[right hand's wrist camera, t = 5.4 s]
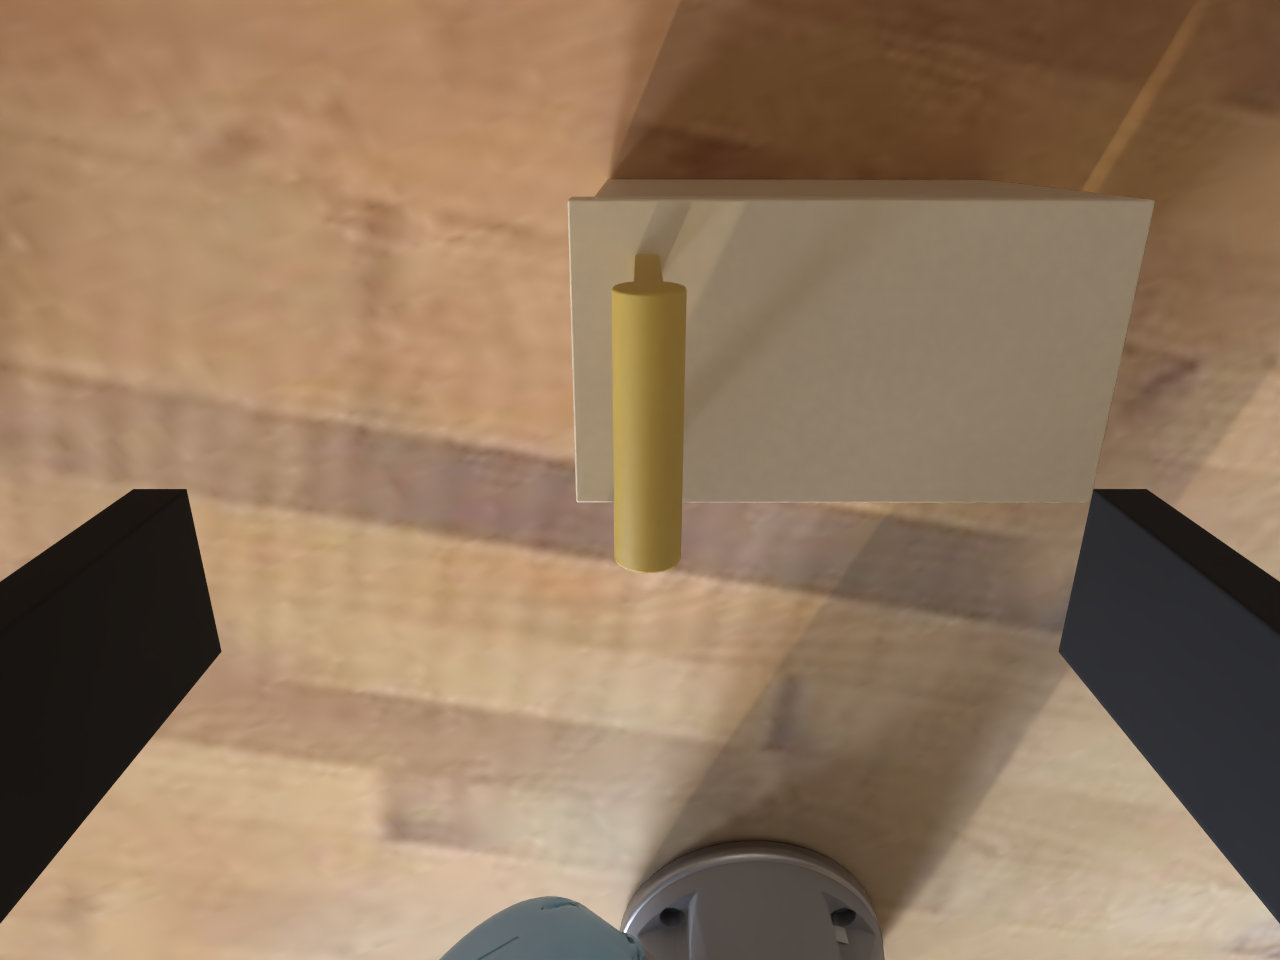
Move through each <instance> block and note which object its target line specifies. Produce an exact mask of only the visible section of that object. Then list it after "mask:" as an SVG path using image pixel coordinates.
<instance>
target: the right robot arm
mask: <svg viewBox="0 0 1280 960" xmlns="http://www.w3.org/2000/svg"><path fill="white" fill-rule="evenodd" d="M220 653H221V648H220V643H219V638H218V634H217V629H216V624H215V620H214V615H213V610H212V606H211V601H210V596H209V592H208V587H207V582H206V578H205V573H204V569H203V564H202V559H201V555H200V550H199V545H198V541H197V536H196V531H195V527H194V522H193V517H192V513H191V508H190V503H189V499H188V494H187V489H133V490H132V491H130V492H129V493H127V494H126V495H124V496H123V497H122V498H120V499H119V500H117V501H116V502H114V503H113V504H112V505H110V506H109V507H107V508H106V509H104V510H103V511H101V512H100V513H99V514H97V515H96V516H94V517H93V518H91V519H90V520H88V521H87V522H86V523H84V524H83V525H81V526H80V527H78V528H77V529H76V530H74V531H73V532H71V533H70V534H68V535H67V536H65V537H64V538H63V539H61V540H60V541H58V542H57V543H55V544H54V545H53V546H51V547H50V548H48V549H47V550H45V551H44V552H42V553H41V554H40V555H38V556H37V557H35V558H34V559H32V560H31V561H30V562H28V563H27V564H25V565H24V566H22V567H21V568H19V569H18V570H17V571H15V572H14V573H12V574H11V575H9V576H8V577H7V578H5V579H4V580H2V581H1V582H0V923H1V922H2V921H3V920H4V918H5V917H6V916H7V915H8V913H9V912H10V911H11V910H12V908H13V907H14V906H15V905H16V904H17V902H18V901H19V900H20V899H21V897H22V896H23V895H24V894H25V892H26V891H27V890H28V889H29V888H30V886H31V885H32V884H33V883H34V881H35V880H36V879H37V878H38V876H39V875H40V874H41V873H42V872H43V870H44V869H45V868H46V867H47V865H48V864H49V863H50V862H51V860H52V859H53V858H54V857H55V856H56V854H57V853H58V852H59V851H60V849H61V848H62V847H63V846H64V845H65V843H66V842H67V841H68V840H69V838H70V837H71V836H72V835H73V833H74V832H75V831H76V830H77V829H78V827H79V826H80V825H81V824H82V822H83V821H84V820H85V819H86V817H87V816H88V815H89V814H90V813H91V811H92V810H93V809H94V808H95V806H96V805H97V804H98V803H99V801H100V800H101V799H102V798H103V797H104V795H105V794H106V793H107V792H108V790H109V789H110V788H111V787H112V786H113V784H114V783H115V782H116V781H117V779H118V778H119V777H120V776H121V774H122V773H123V772H124V771H125V770H126V768H127V767H128V766H129V765H130V763H131V762H132V761H133V760H134V758H135V757H136V756H137V755H138V754H139V752H140V751H141V750H142V749H143V747H144V746H145V745H146V744H147V742H148V741H149V740H150V739H151V738H152V736H153V735H154V734H155V733H156V731H157V730H158V729H159V728H160V726H161V725H162V724H163V723H164V722H165V720H166V719H167V718H168V717H169V715H170V714H171V713H172V712H173V711H174V709H175V708H176V707H177V706H178V704H179V703H180V702H181V701H182V699H183V698H184V697H185V696H186V695H187V693H188V692H189V691H190V690H191V688H192V687H193V686H194V685H195V683H196V682H197V681H198V680H199V679H200V677H201V676H202V675H203V674H204V672H205V671H206V670H207V669H208V667H209V666H210V665H211V664H212V663H213V661H214V660H215V659H216V658H217V656H218V655H219V654H220ZM1059 653H1060V654H1061V655H1062V656H1063V658H1064V659H1065V660H1066V661H1067V663H1068V664H1069V665H1070V666H1071V667H1072V669H1073V670H1074V671H1075V672H1076V674H1077V675H1078V676H1079V677H1080V679H1081V680H1082V681H1083V682H1084V683H1085V685H1086V686H1087V687H1088V688H1089V690H1090V691H1091V692H1092V693H1093V695H1094V696H1095V697H1096V698H1097V699H1098V701H1099V702H1100V703H1101V704H1102V706H1103V707H1104V708H1105V709H1106V711H1107V712H1108V713H1109V714H1110V715H1111V717H1112V718H1113V719H1114V720H1115V722H1116V723H1117V724H1118V725H1119V726H1120V728H1121V729H1122V730H1123V731H1124V733H1125V734H1126V735H1127V736H1128V738H1129V739H1130V740H1131V741H1132V742H1133V744H1134V745H1135V746H1136V747H1137V749H1138V750H1139V751H1140V752H1141V754H1142V755H1143V756H1144V757H1145V758H1146V760H1147V761H1148V762H1149V763H1150V765H1151V766H1152V767H1153V768H1154V770H1155V771H1156V772H1157V773H1158V774H1159V776H1160V777H1161V778H1162V779H1163V781H1164V782H1165V783H1166V784H1167V786H1168V787H1169V788H1170V789H1171V790H1172V792H1173V793H1174V794H1175V795H1176V797H1177V798H1178V799H1179V800H1180V801H1181V803H1182V804H1183V805H1184V806H1185V808H1186V809H1187V810H1188V811H1189V813H1190V814H1191V815H1192V816H1193V817H1194V819H1195V820H1196V821H1197V822H1198V824H1199V825H1200V826H1201V827H1202V829H1203V830H1204V831H1205V832H1206V833H1207V835H1208V836H1209V837H1210V838H1211V840H1212V841H1213V842H1214V843H1215V845H1216V846H1217V847H1218V848H1219V849H1220V851H1221V852H1222V853H1223V854H1224V856H1225V857H1226V858H1227V859H1228V861H1229V862H1230V863H1231V864H1232V865H1233V867H1234V868H1235V869H1236V870H1237V872H1238V873H1239V874H1240V875H1241V876H1242V878H1243V879H1244V880H1245V881H1246V883H1247V884H1248V885H1249V886H1250V888H1251V889H1252V890H1253V891H1254V892H1255V894H1256V895H1257V896H1258V897H1259V899H1260V900H1261V901H1262V902H1263V904H1264V905H1265V906H1266V907H1267V908H1268V910H1269V911H1270V912H1271V913H1272V915H1273V916H1274V917H1275V918H1276V920H1277V921H1278V922H1279V923H1280V582H1279V581H1278V580H1276V579H1275V578H1273V577H1272V576H1271V575H1269V574H1268V573H1266V572H1265V571H1263V570H1262V569H1261V568H1259V567H1258V566H1256V565H1255V564H1253V563H1252V562H1250V561H1249V560H1248V559H1246V558H1245V557H1243V556H1242V555H1240V554H1239V553H1238V552H1236V551H1235V550H1233V549H1232V548H1230V547H1229V546H1227V545H1226V544H1225V543H1223V542H1222V541H1220V540H1219V539H1217V538H1216V537H1215V536H1213V535H1212V534H1210V533H1209V532H1207V531H1206V530H1204V529H1203V528H1202V527H1200V526H1199V525H1197V524H1196V523H1194V522H1193V521H1192V520H1190V519H1189V518H1187V517H1186V516H1184V515H1183V514H1181V513H1180V512H1179V511H1177V510H1176V509H1174V508H1173V507H1171V506H1170V505H1168V504H1167V503H1166V502H1164V501H1163V500H1161V499H1160V498H1158V497H1157V496H1156V495H1154V494H1153V493H1151V492H1150V491H1148V490H1147V489H1093V494H1092V499H1091V503H1090V508H1089V513H1088V517H1087V522H1086V527H1085V531H1084V536H1083V541H1082V545H1081V550H1080V555H1079V559H1078V564H1077V569H1076V573H1075V578H1074V582H1073V587H1072V592H1071V596H1070V601H1069V606H1068V610H1067V615H1066V620H1065V624H1064V629H1063V634H1062V638H1061V643H1060V648H1059Z"/></svg>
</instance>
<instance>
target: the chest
mask: <svg viewBox="0 0 1280 960" xmlns="http://www.w3.org/2000/svg"><path fill="white" fill-rule="evenodd" d="M595 197H995V198H1131V197H1124V196H1116V195H1108V194H1099V193H1091V192H1083V191H1075V190H1067V189H1059V188H1051V187H1043V186H1035V185H1026V184H1018V183H1010V182H1002V181H994V180H777V179H608V180H607V181H606V183H605V184H604V185H603V186H602V188H601V189H600V190H599V192H598V193H597V194H596V196H595Z"/></svg>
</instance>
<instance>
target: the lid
mask: <svg viewBox="0 0 1280 960" xmlns="http://www.w3.org/2000/svg"><path fill="white" fill-rule="evenodd" d="M1154 205H1155V201H1154V200H1149V199H1140V198H995V197H571V198H570V199H569V200H568V225H569V260H570V295H571V330H572V365H573V400H574V436H575V471H576V501H577V502H614V553H615V560H616V562H617V563H618V564H619V565H620V566H621V567H623V568H625V569H627V570H630V571H633V572H639V573H657V572H663V571H666V570H669V569H671V568H673V567H675V566H676V565H677V564H678V563H679V561H680V559H681V530H682V502H837V503H1090V500H1091V495H1092V491H1093V486H1094V482H1095V477H1096V472H1097V468H1098V463H1099V459H1100V454H1101V449H1102V445H1103V440H1104V435H1105V431H1106V426H1107V422H1108V417H1109V412H1110V408H1111V403H1112V399H1113V394H1114V389H1115V385H1116V380H1117V375H1118V371H1119V366H1120V362H1121V357H1122V352H1123V348H1124V343H1125V338H1126V334H1127V329H1128V325H1129V320H1130V315H1131V311H1132V306H1133V302H1134V297H1135V292H1136V288H1137V283H1138V278H1139V274H1140V269H1141V265H1142V260H1143V255H1144V251H1145V246H1146V242H1147V237H1148V232H1149V228H1150V223H1151V218H1152V214H1153V209H1154Z"/></svg>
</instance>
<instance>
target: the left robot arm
mask: <svg viewBox="0 0 1280 960" xmlns="http://www.w3.org/2000/svg"><path fill="white" fill-rule="evenodd" d="M440 960H884V951H883V940H882V935H881V931H880V928H879V924H878V921H877V918H876V915H875V911H874V909H873V906H872V903H871V901H870V899H869V897H868V895H867V893H866V892H865V890H864V889H863V887H862V886H861V885H860V884H859V882H858V881H857V880H856V879H855V878H854V877H853V876H852V875H851V874H850V873H849V872H848V871H846V870H845V869H844V868H842V867H841V866H840V865H838V864H837V863H835V862H833V861H832V860H830V859H829V858H826V857H824V856H822V855H820V854H818V853H816V852H813V851H810V850H808V849H805V848H801V847H798V846H794V845H789V844H784V843H777V842H769V841H740V842H732V843H725V844H720V845H715V846H711V847H707V848H703V849H700V850H698V851H695V852H692V853H689V854H687V855H685V856H683V857H681V858H678V859H677V860H675V861H673V862H671V863H669V864H668V865H666V866H665V867H663V868H662V869H660V870H659V871H657V872H656V873H655V874H654V875H653V876H651V877H650V878H649V879H648V880H647V881H646V882H645V883H644V884H643V885H642V886H641V887H640V889H639V890H638V891H637V892H636V894H635V895H634V896H633V898H632V900H631V901H630V903H629V905H628V907H627V909H626V911H625V913H624V916H623V919H622V923H621V928H620V931H618V930H617V929H615V928H614V927H613V926H611V925H610V924H609V923H607V922H606V921H604V920H603V919H602V918H600V917H599V916H598V915H596V914H595V913H593V912H592V911H591V910H589V909H588V908H587V907H585V906H583V905H582V904H580V903H578V902H575V901H572V900H570V899H567V898H562V897H553V896H546V897H539V898H534V899H529V900H526V901H522V902H520V903H517V904H515V905H512V906H510V907H508V908H506V909H504V910H502V911H501V912H499V913H497V914H495V915H493V916H492V917H490V918H489V919H487V920H486V921H484V922H483V923H481V924H480V925H478V926H477V927H476V928H474V929H473V930H472V931H471V932H469V933H468V934H467V935H466V936H465V937H463V938H462V939H461V940H460V941H459V942H458V943H456V944H455V945H454V946H453V947H452V948H451V949H450V950H449V951H448V952H447V953H446V954H445V955H444V956H443V957H442V958H441V959H440Z"/></svg>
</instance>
